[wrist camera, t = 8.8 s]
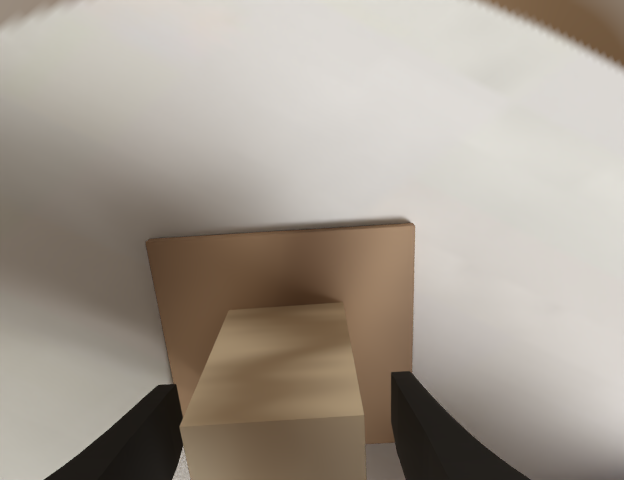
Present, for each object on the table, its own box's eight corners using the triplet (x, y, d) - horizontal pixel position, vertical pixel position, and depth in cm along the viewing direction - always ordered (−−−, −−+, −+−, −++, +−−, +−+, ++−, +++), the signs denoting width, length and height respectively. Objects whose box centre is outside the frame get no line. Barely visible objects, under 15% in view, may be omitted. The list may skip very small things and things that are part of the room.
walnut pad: (412, 223, 14) (415, 225, 14) (408, 434, 17) (410, 441, 17) (149, 238, 15) (145, 242, 14) (190, 446, 18) (187, 453, 17)
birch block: (342, 302, 15) (364, 414, 9) (347, 397, 16) (369, 547, 11) (228, 310, 15) (179, 426, 9) (242, 404, 16) (207, 557, 11)
